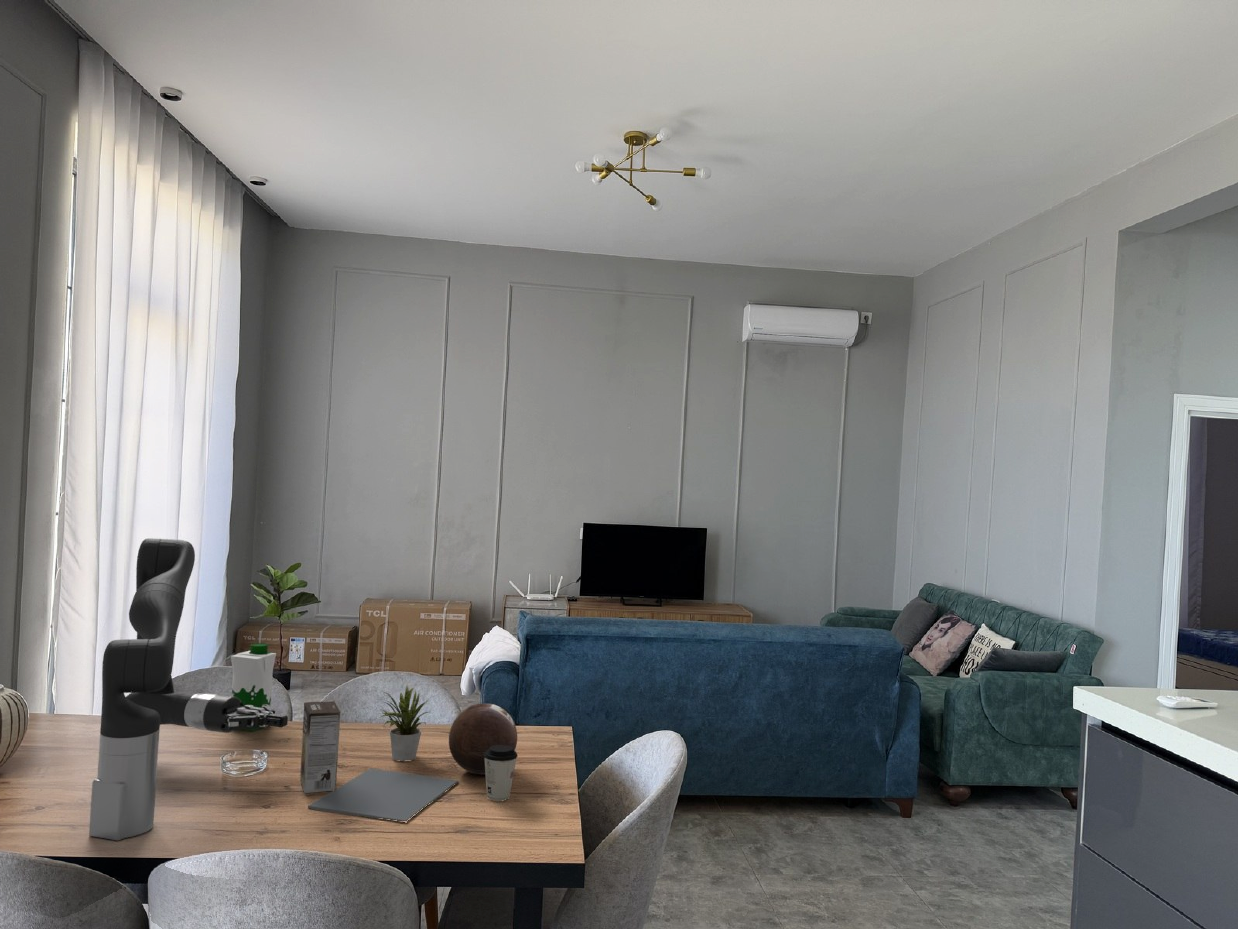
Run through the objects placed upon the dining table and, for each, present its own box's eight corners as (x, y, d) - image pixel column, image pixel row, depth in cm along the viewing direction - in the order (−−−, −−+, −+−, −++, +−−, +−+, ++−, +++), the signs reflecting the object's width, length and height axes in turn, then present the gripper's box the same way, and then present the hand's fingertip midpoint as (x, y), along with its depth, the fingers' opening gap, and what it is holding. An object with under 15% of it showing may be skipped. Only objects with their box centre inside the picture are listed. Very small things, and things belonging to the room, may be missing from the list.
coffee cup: (483, 804, 177) (485, 754, 177) (479, 792, 183) (481, 743, 184) (517, 803, 179) (520, 753, 179) (512, 790, 185) (515, 742, 186)
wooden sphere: (520, 782, 191) (524, 712, 191) (450, 785, 186) (454, 714, 187) (509, 760, 205) (513, 695, 205) (443, 763, 201) (447, 696, 201)
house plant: (366, 749, 208) (371, 679, 208) (426, 746, 213) (430, 677, 213) (372, 768, 194) (377, 694, 195) (436, 764, 199) (440, 692, 200)
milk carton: (275, 724, 224) (280, 644, 225) (252, 733, 215) (257, 651, 216) (245, 720, 226) (250, 641, 227) (221, 729, 217) (226, 647, 218)
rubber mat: (405, 823, 165) (405, 820, 165) (307, 808, 170) (308, 805, 170) (458, 782, 188) (458, 780, 188) (370, 770, 193) (370, 768, 193)
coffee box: (298, 779, 186) (303, 701, 186) (330, 776, 188) (335, 700, 189) (303, 794, 177) (307, 713, 178) (336, 790, 180) (341, 711, 180)
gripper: (193, 702, 183) (267, 711, 179) (234, 688, 195) (304, 696, 192) (190, 738, 182) (265, 748, 178) (232, 722, 195) (302, 731, 191)
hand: (285, 721), depth 185 cm, fingers closed
